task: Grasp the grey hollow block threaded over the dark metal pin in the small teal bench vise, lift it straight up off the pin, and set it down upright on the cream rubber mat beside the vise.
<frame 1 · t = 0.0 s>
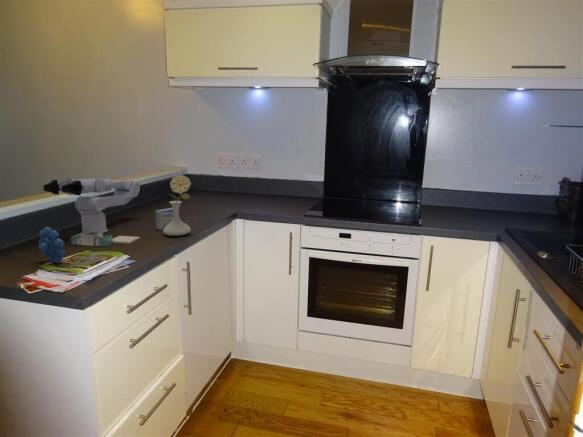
hand: (53, 188, 156), 22 cm above the worktop, tool horizontal, fingers open, 7 cm apart
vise: (92, 243, 164), on the worktop
grey hollow block: (92, 243, 164), resting in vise
mat: (124, 240, 169), on the worktop
flower in vase: (179, 235, 178), on the worktop
grapes: (51, 263, 140), on the worktop
medicine box: (167, 229, 188), on the worktop
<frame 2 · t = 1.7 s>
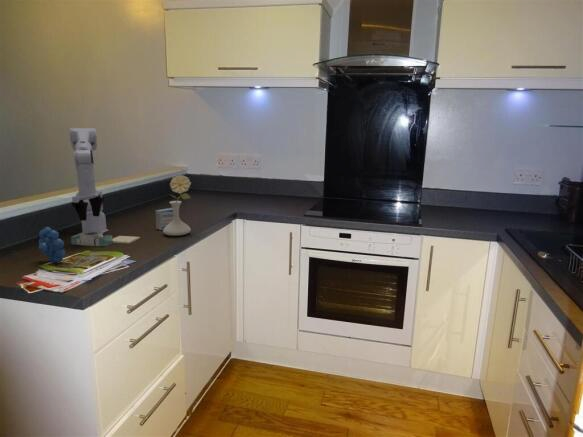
hand: (89, 218, 161), 10 cm above the worktop, tool pointing down, fingers open, 7 cm apart
nothing on the worktop moved.
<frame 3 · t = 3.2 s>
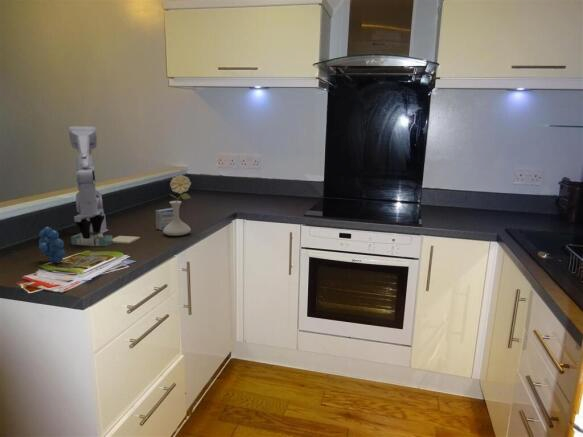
hand: (91, 236, 163), 3 cm above the worktop, tool pointing down, fingers closed on grey hollow block, 6 cm apart
grey hollow block: (92, 243, 164), resting in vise, touching gripper
everything else where it was.
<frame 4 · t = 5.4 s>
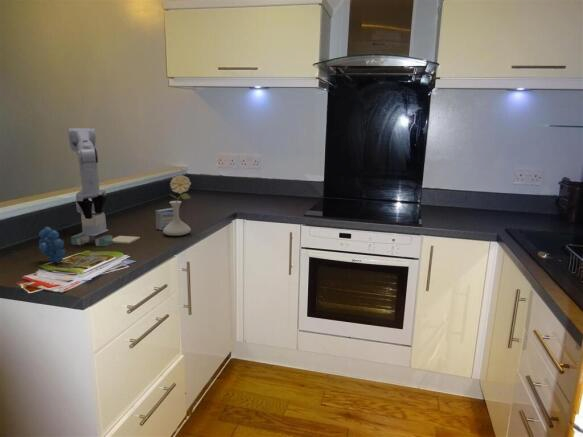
hand: (93, 216, 162), 10 cm above the worktop, tool pointing down, fingers closed on grey hollow block, 6 cm apart
grey hollow block: (94, 224, 163), point 7 cm above the worktop, touching gripper
everything else where it was.
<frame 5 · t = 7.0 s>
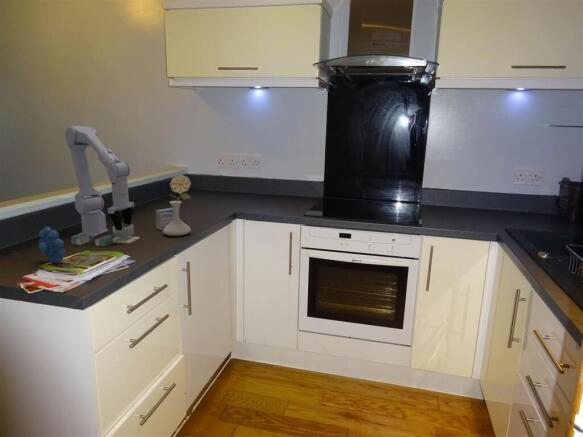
hand: (123, 228, 168), 5 cm above the worktop, tool pointing down, fingers closed on grey hollow block, 6 cm apart
grey hollow block: (123, 235, 168), point 2 cm above the worktop, touching gripper
everything else where it was.
when the fingers open (5 cm above the worktop, at t = 8.0 s): grey hollow block drops 1 cm, resting on mat.
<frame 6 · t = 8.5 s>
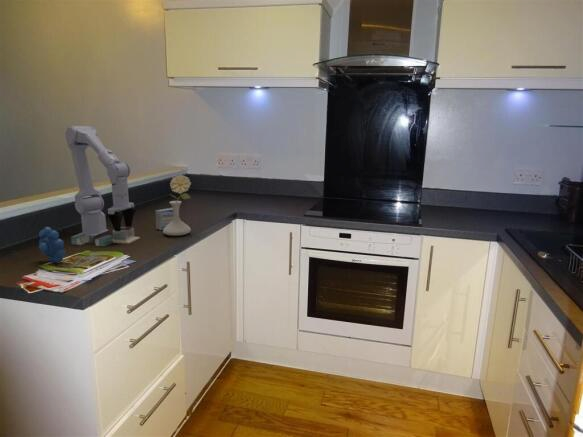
hand: (123, 228, 168), 5 cm above the worktop, tool pointing down, fingers open, 7 cm apart
grey hollow block: (124, 238, 168), point 1 cm above the worktop, touching mat
everything else where it was.
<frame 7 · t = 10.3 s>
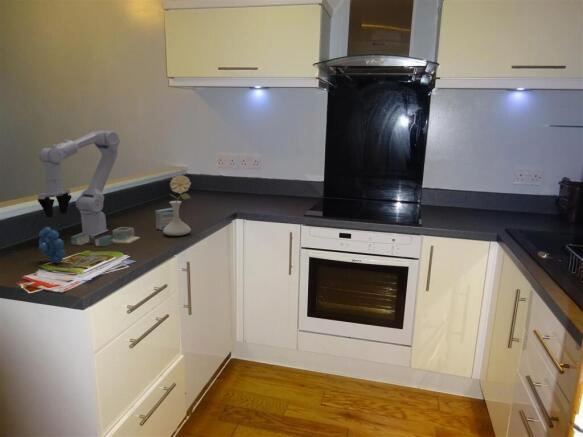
hand: (56, 215, 164), 10 cm above the worktop, tool pointing down, fingers open, 7 cm apart
nothing on the worktop moved.
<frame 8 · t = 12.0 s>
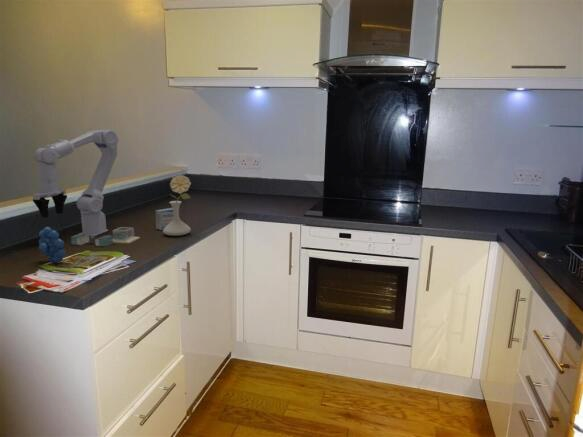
hand: (52, 215, 164), 10 cm above the worktop, tool pointing down, fingers open, 7 cm apart
nothing on the worktop moved.
at the end: grey hollow block 0.0 cm off-centre on the mat, point 0.6 cm above the mat's base; grey hollow block tilted 0°; the gripper is holding nothing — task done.
